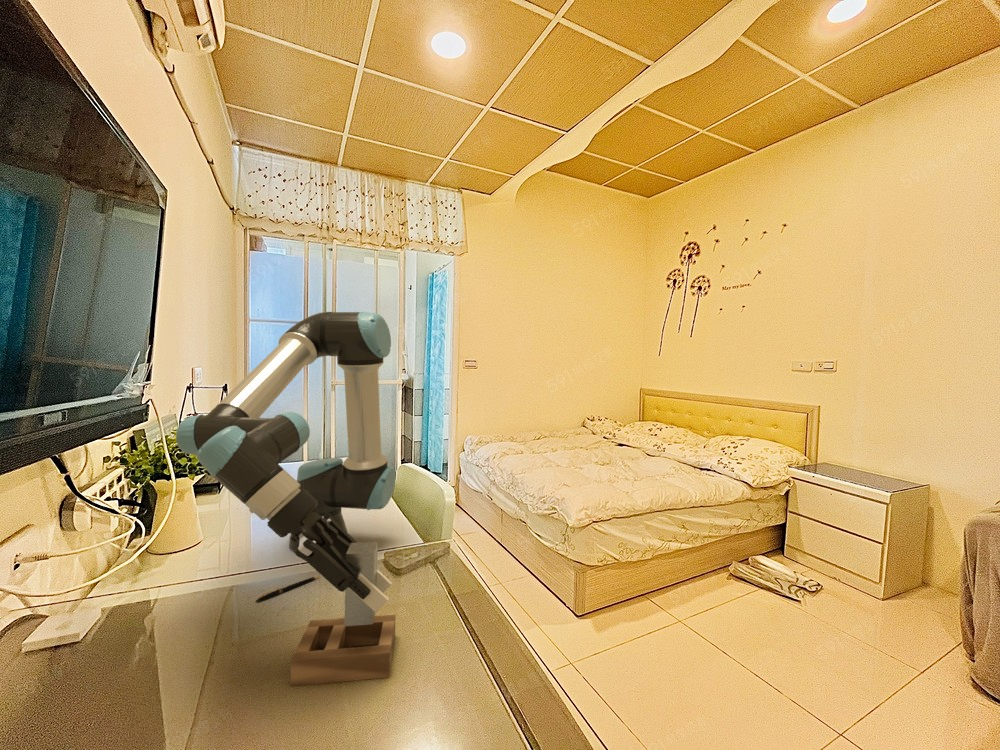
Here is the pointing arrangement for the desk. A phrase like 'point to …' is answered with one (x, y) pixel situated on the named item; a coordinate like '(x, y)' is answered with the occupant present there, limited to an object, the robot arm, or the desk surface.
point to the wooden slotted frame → (343, 651)
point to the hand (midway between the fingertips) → (383, 597)
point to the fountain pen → (283, 590)
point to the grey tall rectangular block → (365, 562)
